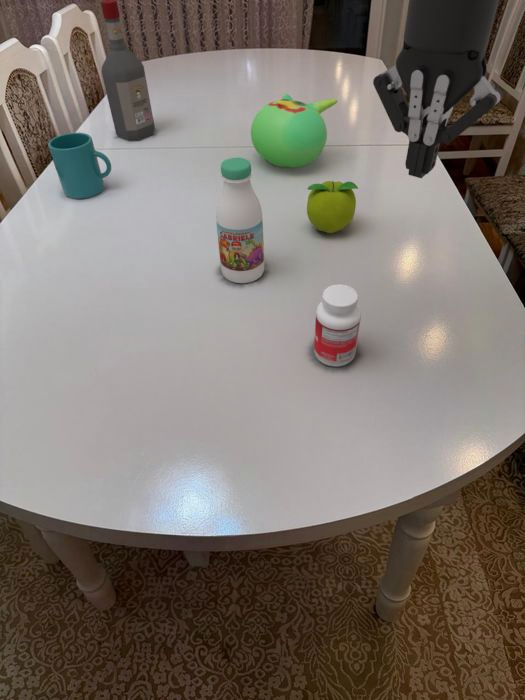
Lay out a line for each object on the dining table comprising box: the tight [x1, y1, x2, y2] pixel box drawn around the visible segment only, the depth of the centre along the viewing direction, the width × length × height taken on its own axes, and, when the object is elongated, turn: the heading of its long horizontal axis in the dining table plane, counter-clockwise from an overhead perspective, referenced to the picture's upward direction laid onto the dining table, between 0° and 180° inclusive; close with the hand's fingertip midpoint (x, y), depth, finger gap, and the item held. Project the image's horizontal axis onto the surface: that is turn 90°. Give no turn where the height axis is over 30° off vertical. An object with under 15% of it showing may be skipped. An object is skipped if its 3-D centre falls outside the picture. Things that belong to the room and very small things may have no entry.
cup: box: [47, 132, 112, 200], centre depth 109 cm, size 9×12×11 cm
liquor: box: [100, 0, 156, 142], centre depth 125 cm, size 9×9×30 cm
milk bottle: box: [215, 157, 265, 284], centre depth 82 cm, size 8×8×20 cm
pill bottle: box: [313, 283, 362, 367], centre depth 70 cm, size 6×6×11 cm
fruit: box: [306, 180, 359, 234], centre depth 95 cm, size 9×9×10 cm
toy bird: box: [250, 93, 339, 168], centre depth 115 cm, size 18×17×15 cm
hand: (417, 173), depth 55 cm, fingers closed
